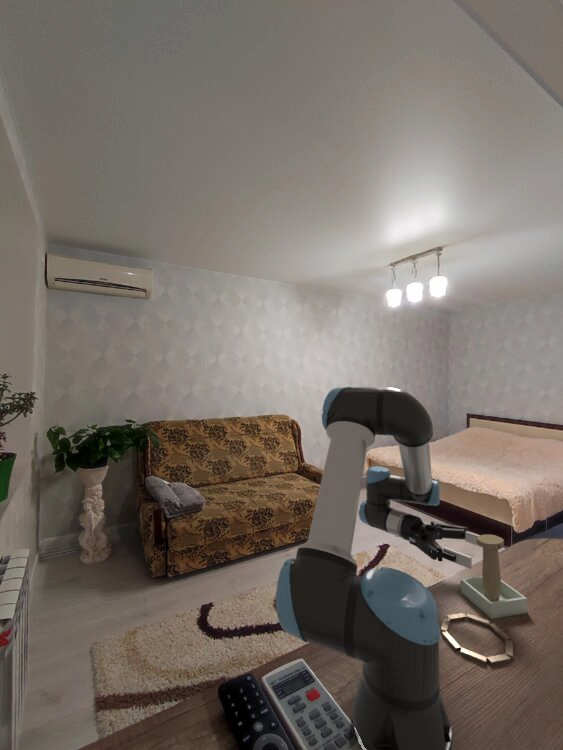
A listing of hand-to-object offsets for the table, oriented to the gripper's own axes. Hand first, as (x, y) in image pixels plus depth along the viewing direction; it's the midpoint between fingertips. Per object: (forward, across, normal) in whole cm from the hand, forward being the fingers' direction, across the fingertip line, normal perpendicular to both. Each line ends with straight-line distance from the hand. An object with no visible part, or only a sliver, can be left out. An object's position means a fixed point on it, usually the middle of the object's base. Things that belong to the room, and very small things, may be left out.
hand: (481, 553), depth 87 cm
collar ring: (+4, +16, -11) cm, 20 cm away
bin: (+2, 0, -11) cm, 11 cm away
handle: (+2, 0, -11) cm, 11 cm away
